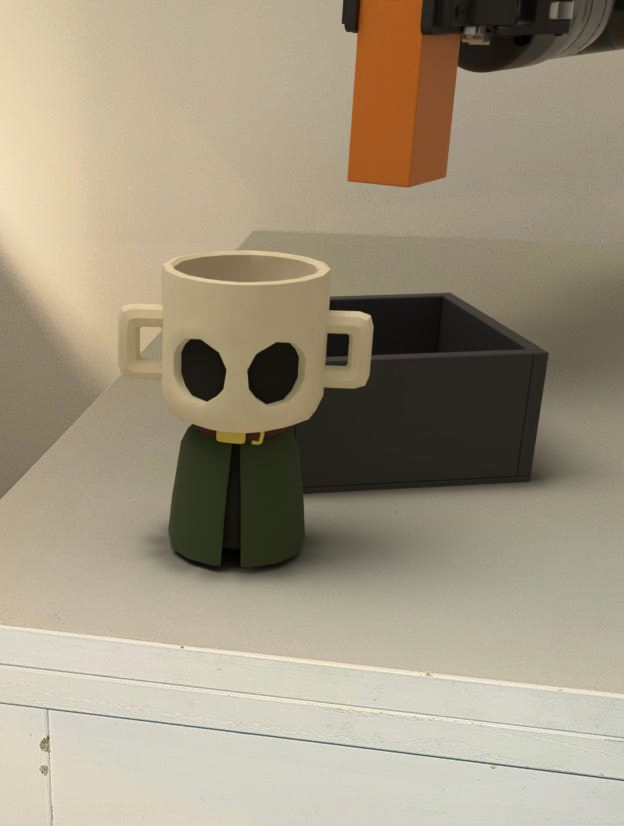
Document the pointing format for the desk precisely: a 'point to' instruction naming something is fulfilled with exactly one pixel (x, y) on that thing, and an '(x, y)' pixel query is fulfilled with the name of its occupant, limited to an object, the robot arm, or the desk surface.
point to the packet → (401, 97)
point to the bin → (426, 401)
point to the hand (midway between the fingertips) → (389, 11)
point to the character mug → (242, 391)
